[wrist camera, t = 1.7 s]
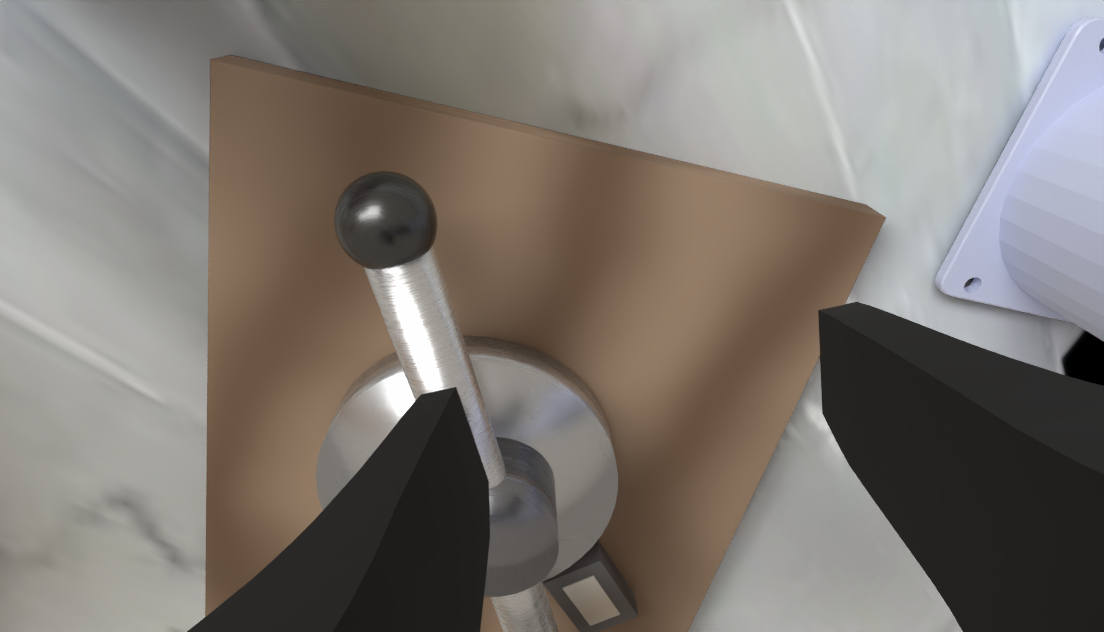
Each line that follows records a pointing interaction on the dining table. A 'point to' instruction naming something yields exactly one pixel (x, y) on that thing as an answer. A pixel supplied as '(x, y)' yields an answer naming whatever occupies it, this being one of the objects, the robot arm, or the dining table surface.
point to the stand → (512, 317)
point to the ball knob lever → (472, 405)
